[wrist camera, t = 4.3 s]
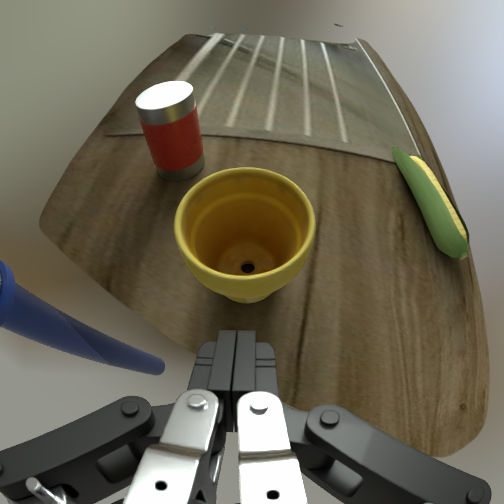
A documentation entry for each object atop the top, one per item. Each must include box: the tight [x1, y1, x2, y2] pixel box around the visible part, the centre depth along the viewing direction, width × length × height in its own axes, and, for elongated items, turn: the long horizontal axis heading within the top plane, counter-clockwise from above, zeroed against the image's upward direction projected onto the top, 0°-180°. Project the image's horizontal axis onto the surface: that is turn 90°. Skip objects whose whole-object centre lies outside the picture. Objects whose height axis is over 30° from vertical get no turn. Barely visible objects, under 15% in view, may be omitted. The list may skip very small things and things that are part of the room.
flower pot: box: [174, 167, 316, 303], centre depth 24 cm, size 10×10×10 cm
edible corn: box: [392, 147, 469, 260], centre depth 31 cm, size 5×20×5 cm, turn 9°
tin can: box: [135, 81, 204, 182], centre depth 31 cm, size 7×7×12 cm
